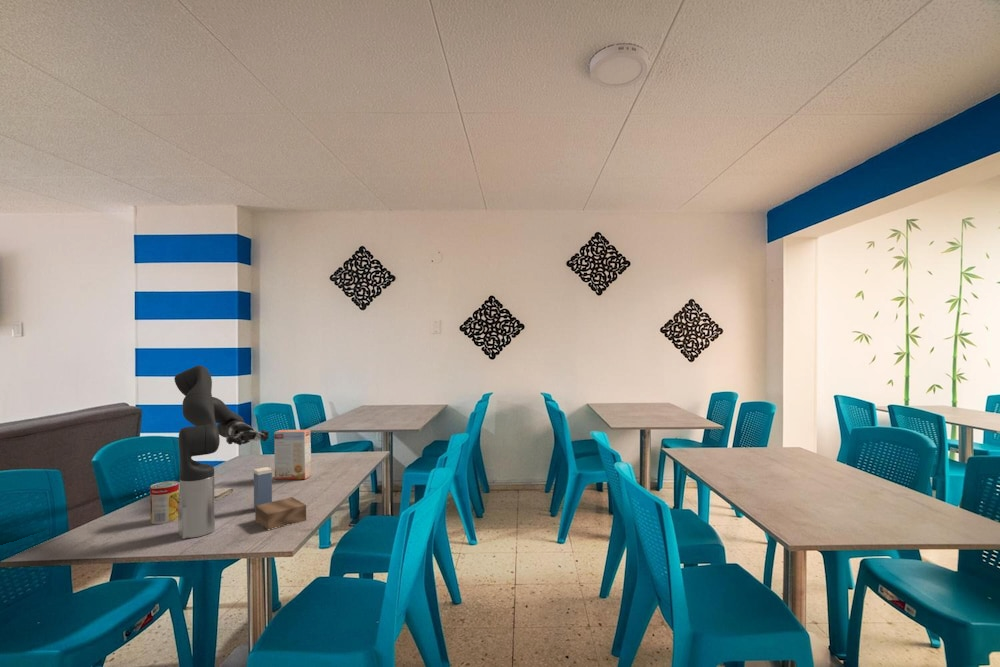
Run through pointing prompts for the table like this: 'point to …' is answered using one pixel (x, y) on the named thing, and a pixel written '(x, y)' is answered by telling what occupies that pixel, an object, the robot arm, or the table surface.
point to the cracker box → (292, 454)
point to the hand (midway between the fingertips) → (253, 440)
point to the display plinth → (280, 513)
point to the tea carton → (262, 486)
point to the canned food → (164, 502)
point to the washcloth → (221, 493)
